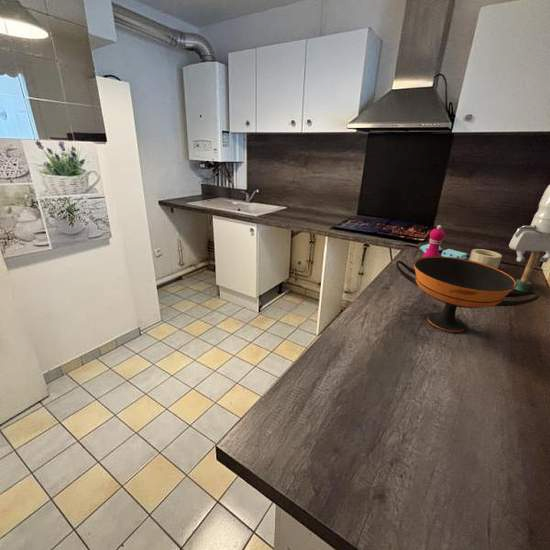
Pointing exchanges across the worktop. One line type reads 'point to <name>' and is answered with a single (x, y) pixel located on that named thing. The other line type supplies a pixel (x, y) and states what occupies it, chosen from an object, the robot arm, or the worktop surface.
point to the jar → (486, 257)
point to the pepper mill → (435, 242)
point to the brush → (527, 273)
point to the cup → (462, 287)
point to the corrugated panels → (447, 252)
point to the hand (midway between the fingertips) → (531, 261)
